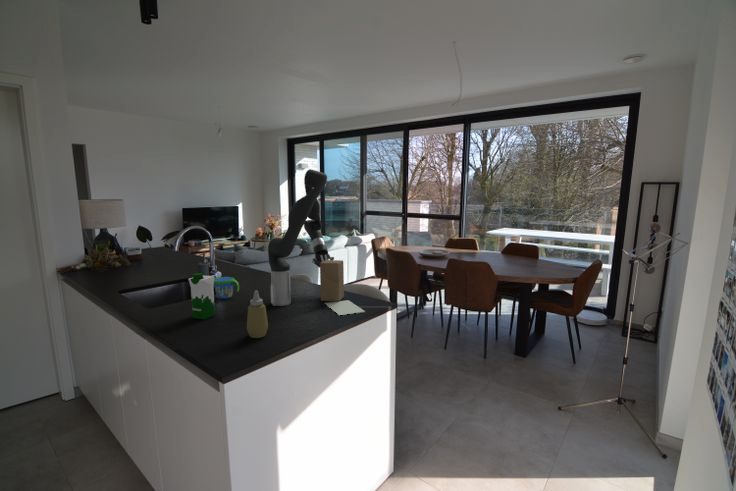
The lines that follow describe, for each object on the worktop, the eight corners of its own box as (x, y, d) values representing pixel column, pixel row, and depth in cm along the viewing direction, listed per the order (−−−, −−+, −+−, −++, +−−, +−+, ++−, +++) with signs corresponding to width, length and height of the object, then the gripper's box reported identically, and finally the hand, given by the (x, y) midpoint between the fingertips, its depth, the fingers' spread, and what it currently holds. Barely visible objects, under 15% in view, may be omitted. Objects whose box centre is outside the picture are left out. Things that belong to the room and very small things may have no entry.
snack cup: (243, 295, 201) (242, 277, 199) (233, 300, 190) (233, 281, 189) (215, 294, 202) (214, 276, 201) (205, 299, 192) (204, 280, 190)
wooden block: (339, 301, 187) (338, 263, 185) (320, 301, 189) (319, 262, 187) (344, 297, 197) (343, 260, 195) (326, 296, 199) (325, 259, 197)
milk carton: (188, 318, 163) (185, 274, 160) (203, 312, 171) (201, 270, 168) (204, 320, 160) (201, 275, 157) (219, 314, 168) (216, 271, 166)
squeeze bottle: (249, 332, 147) (247, 288, 144) (270, 331, 147) (268, 288, 145) (244, 340, 139) (242, 293, 136) (266, 339, 139) (264, 293, 137)
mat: (339, 315, 167) (339, 315, 167) (324, 304, 185) (324, 303, 185) (365, 312, 172) (365, 311, 172) (348, 300, 191) (348, 300, 191)
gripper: (309, 244, 202) (316, 269, 193) (332, 242, 208) (340, 267, 199) (307, 252, 208) (314, 277, 198) (329, 250, 213) (336, 275, 204)
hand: (327, 272), depth 198 cm, fingers closed
